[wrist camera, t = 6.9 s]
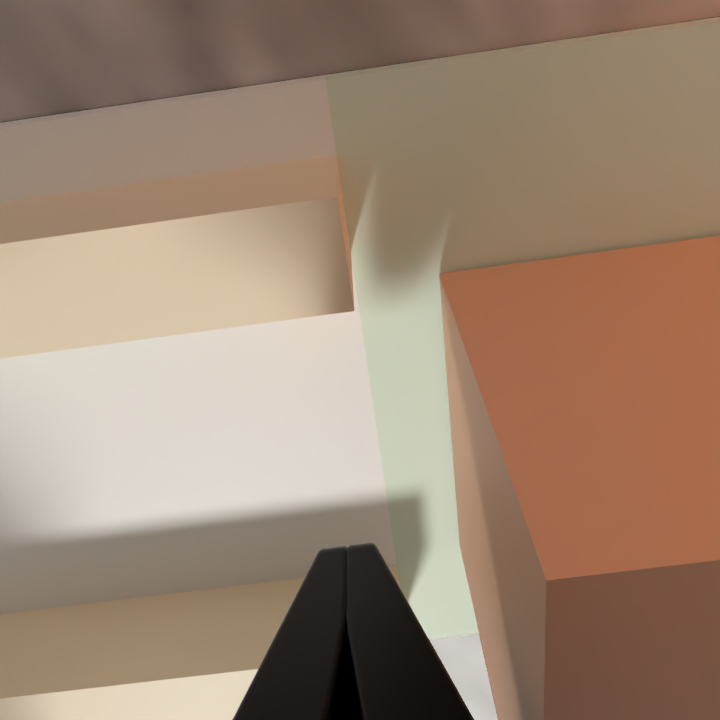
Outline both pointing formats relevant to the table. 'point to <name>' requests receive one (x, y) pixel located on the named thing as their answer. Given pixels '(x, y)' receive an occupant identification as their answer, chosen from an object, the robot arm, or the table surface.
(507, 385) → the block
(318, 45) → the table surface
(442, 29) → the table surface
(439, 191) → the beige railed tray
